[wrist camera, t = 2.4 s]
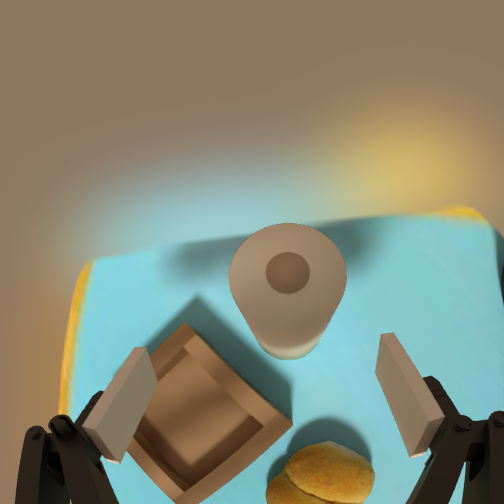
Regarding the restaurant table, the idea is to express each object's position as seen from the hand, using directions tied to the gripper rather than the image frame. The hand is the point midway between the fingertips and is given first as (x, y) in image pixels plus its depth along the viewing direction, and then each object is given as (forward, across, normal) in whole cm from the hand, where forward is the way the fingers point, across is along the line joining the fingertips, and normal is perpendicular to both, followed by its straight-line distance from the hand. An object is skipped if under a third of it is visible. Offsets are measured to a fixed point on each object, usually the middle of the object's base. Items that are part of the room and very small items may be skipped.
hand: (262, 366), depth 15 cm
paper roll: (+10, +2, -4) cm, 11 cm away
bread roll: (0, +4, -15) cm, 15 cm away
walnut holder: (+4, -7, -10) cm, 12 cm away
